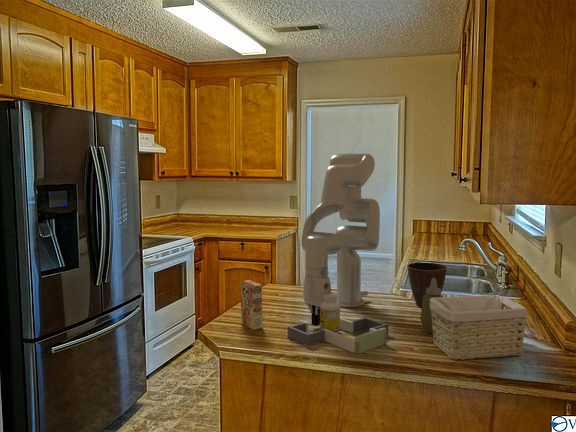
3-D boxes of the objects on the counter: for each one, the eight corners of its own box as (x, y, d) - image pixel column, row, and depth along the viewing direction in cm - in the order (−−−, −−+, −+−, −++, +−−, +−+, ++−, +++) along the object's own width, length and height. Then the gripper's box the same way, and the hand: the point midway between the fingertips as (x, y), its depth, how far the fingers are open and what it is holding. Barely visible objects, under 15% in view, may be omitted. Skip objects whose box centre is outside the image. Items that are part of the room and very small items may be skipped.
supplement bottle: (318, 329, 166) (318, 292, 165) (337, 329, 166) (338, 292, 165) (321, 336, 159) (321, 298, 158) (341, 336, 160) (341, 297, 158)
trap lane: (340, 318, 178) (340, 305, 177) (400, 338, 157) (400, 323, 156) (282, 334, 161) (281, 320, 161) (340, 359, 140) (340, 343, 140)
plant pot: (440, 313, 183) (441, 271, 182) (401, 307, 191) (402, 267, 189) (449, 304, 196) (451, 264, 194) (413, 298, 204) (414, 261, 202)
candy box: (263, 328, 168) (262, 284, 166) (252, 330, 166) (252, 286, 164) (250, 321, 175) (250, 279, 174) (240, 323, 173) (239, 281, 171)
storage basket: (449, 362, 138) (451, 311, 137) (426, 342, 154) (427, 296, 153) (528, 358, 141) (530, 308, 140) (497, 338, 157) (499, 293, 156)
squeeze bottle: (445, 328, 167) (446, 276, 165) (444, 336, 159) (446, 281, 157) (420, 325, 170) (422, 274, 168) (419, 333, 162) (420, 280, 160)
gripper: (340, 274, 162) (339, 328, 164) (310, 267, 174) (310, 317, 176) (323, 277, 158) (323, 332, 160) (294, 270, 169) (294, 321, 171)
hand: (316, 324), depth 168 cm, fingers closed
